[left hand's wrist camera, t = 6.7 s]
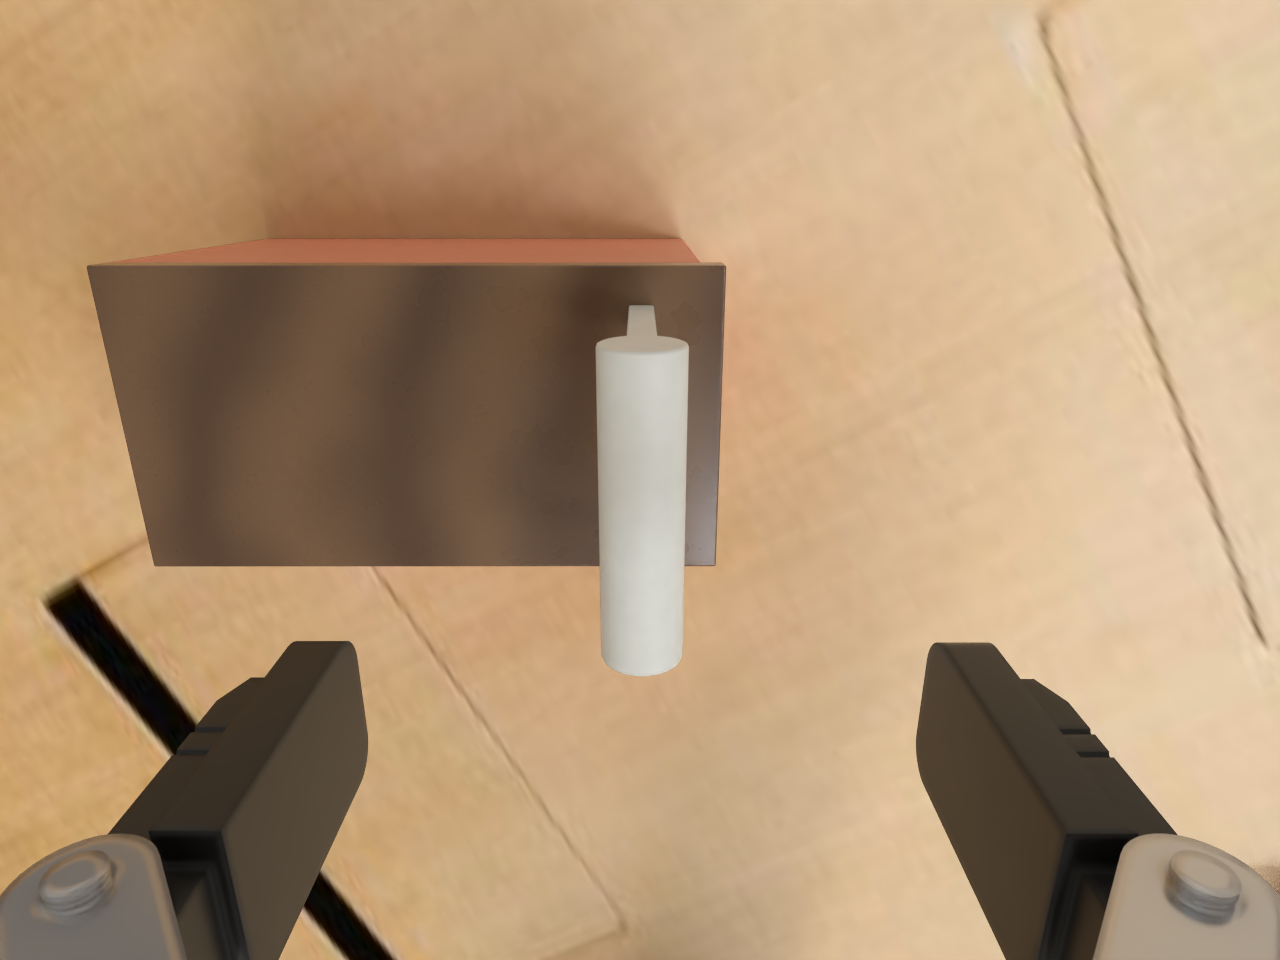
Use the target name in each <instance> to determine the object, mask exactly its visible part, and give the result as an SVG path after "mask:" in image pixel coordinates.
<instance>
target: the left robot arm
mask: <svg viewBox="0 0 1280 960" xmlns="http://www.w3.org/2000/svg"><path fill="white" fill-rule="evenodd" d="M367 753H368V733H367V725H366V718H365V711H364V704H363V696H362V689H361V682H360V675H359V667H358V660H357V654H356V651H355V648H354V646H353V644H352V643H351V642H349V641H295V642H293V643H291V644H290V645H289V646H288V647H287V649H286V650H285V651H284V653H283V654H282V655H281V657H280V658H279V659H278V661H277V662H276V663H275V665H274V666H273V667H272V669H271V670H270V671H269V673H268V674H267V675H266V676H265V678H250V679H248V680H247V681H245V682H244V683H242V684H241V685H239V686H238V687H236V688H235V689H233V690H232V691H230V692H229V693H227V694H226V695H225V696H223V697H222V698H220V699H219V700H217V701H216V702H215V704H214V705H213V706H212V707H211V709H210V710H209V711H208V712H207V713H206V715H205V716H204V717H203V718H202V720H201V721H200V722H199V723H198V724H197V726H196V727H195V732H194V733H190V734H189V735H188V737H187V738H186V739H185V740H184V742H183V743H182V744H181V745H180V747H179V748H178V749H177V754H176V755H172V756H171V758H170V759H169V760H168V761H167V762H166V764H165V765H164V766H163V767H162V769H161V770H160V771H159V772H158V773H157V775H156V776H155V777H154V778H153V780H152V781H151V782H150V783H149V784H148V786H147V787H146V788H145V789H144V791H143V792H142V793H141V794H140V795H139V797H138V798H137V799H136V800H135V802H134V803H133V804H132V805H131V806H130V808H129V809H128V810H127V811H126V813H125V814H124V815H123V816H122V817H121V819H120V820H119V821H118V822H117V824H116V825H115V826H114V827H113V828H112V830H111V831H110V832H109V833H108V835H101V836H97V837H92V838H88V839H85V840H82V841H79V842H76V843H73V844H71V845H68V846H66V847H64V848H62V849H59V850H57V851H55V852H54V853H52V854H50V855H48V856H46V857H44V858H43V859H41V860H40V861H38V862H37V863H35V864H33V865H32V866H31V867H29V868H28V869H27V870H25V871H24V872H23V873H22V874H20V875H19V876H18V877H17V878H16V879H15V880H14V881H13V882H12V883H11V884H10V885H9V886H8V887H7V888H6V889H5V891H4V892H3V893H2V894H1V896H0V960H278V959H279V957H280V955H281V953H282V951H283V949H284V947H285V944H286V942H287V940H288V938H289V936H290V934H291V932H292V929H293V927H294V925H295V923H296V921H297V919H298V917H299V914H300V912H301V910H302V908H303V906H304V904H305V901H306V899H307V897H308V895H309V893H310V891H311V889H312V886H313V884H314V882H315V880H316V878H317V876H318V874H319V871H320V869H321V867H322V865H323V863H324V861H325V859H326V856H327V854H328V852H329V850H330V848H331V846H332V843H333V841H334V839H335V837H336V835H337V833H338V831H339V828H340V826H341V824H342V822H343V820H344V818H345V816H346V813H347V811H348V809H349V807H350V805H351V803H352V801H353V798H354V796H355V794H356V792H357V790H358V788H359V785H360V783H361V781H362V778H363V775H364V771H365V767H366V762H367ZM916 753H917V762H918V768H919V772H920V776H921V779H922V782H923V784H924V787H925V789H926V791H927V793H928V795H929V797H930V799H931V802H932V804H933V806H934V808H935V810H936V812H937V814H938V816H939V818H940V821H941V823H942V825H943V827H944V829H945V831H946V833H947V835H948V838H949V840H950V842H951V844H952V846H953V848H954V850H955V852H956V855H957V857H958V859H959V861H960V863H961V865H962V867H963V869H964V872H965V874H966V876H967V878H968V880H969V882H970V884H971V886H972V889H973V891H974V893H975V895H976V897H977V899H978V901H979V903H980V905H981V908H982V910H983V912H984V914H985V916H986V918H987V920H988V922H989V925H990V927H991V929H992V931H993V933H994V935H995V937H996V939H997V942H998V944H999V946H1000V948H1001V950H1002V952H1003V954H1004V956H1005V959H1006V960H1280V896H1279V894H1278V893H1277V892H1276V891H1275V889H1274V888H1273V887H1272V886H1271V885H1270V884H1269V883H1268V882H1267V881H1266V880H1265V879H1264V878H1263V877H1262V876H1261V875H1260V874H1258V873H1257V872H1256V871H1255V870H1253V869H1252V868H1251V867H1249V866H1248V865H1247V864H1245V863H1243V862H1242V861H1240V860H1239V859H1237V858H1236V857H1234V856H1232V855H1230V854H1228V853H1226V852H1225V851H1223V850H1221V849H1218V848H1216V847H1214V846H1212V845H1209V844H1207V843H1204V842H1201V841H1198V840H1195V839H1192V838H1188V837H1183V836H1179V835H1177V834H1176V832H1175V831H1174V830H1173V829H1172V828H1171V826H1170V825H1169V824H1168V823H1167V821H1166V820H1165V819H1164V818H1163V817H1162V815H1161V814H1160V813H1159V812H1158V811H1157V809H1156V808H1155V807H1154V806H1153V804H1152V803H1151V802H1150V801H1149V800H1148V798H1147V797H1146V796H1145V795H1144V794H1143V792H1142V791H1141V790H1140V789H1139V788H1138V786H1137V785H1136V784H1135V783H1134V781H1133V780H1132V779H1131V778H1130V777H1129V775H1128V774H1127V773H1126V772H1125V771H1124V769H1123V768H1122V767H1121V766H1120V764H1119V763H1118V762H1117V761H1116V760H1115V758H1110V756H1109V751H1108V750H1107V749H1106V748H1105V746H1104V745H1103V744H1102V743H1101V741H1100V740H1099V739H1098V738H1097V737H1096V735H1091V733H1090V728H1089V727H1088V726H1087V724H1086V723H1085V722H1084V721H1083V720H1082V718H1081V717H1080V716H1079V715H1078V714H1077V712H1076V711H1075V710H1074V709H1073V707H1072V706H1071V705H1070V704H1069V703H1068V702H1067V701H1066V700H1064V699H1063V698H1061V697H1060V696H1058V695H1057V694H1055V693H1054V692H1052V691H1051V690H1049V689H1048V688H1046V687H1045V686H1043V685H1042V684H1040V683H1039V682H1037V681H1036V680H1034V679H1020V678H1019V677H1018V675H1017V674H1016V673H1015V671H1014V670H1013V669H1012V667H1011V666H1010V665H1009V664H1008V662H1007V661H1006V660H1005V658H1004V657H1003V656H1002V654H1001V653H1000V652H999V651H998V649H997V648H996V647H995V646H994V645H993V644H991V643H934V644H933V645H932V646H931V648H930V650H929V653H928V658H927V664H926V671H925V678H924V685H923V693H922V700H921V707H920V714H919V721H918V728H917V736H916Z"/></svg>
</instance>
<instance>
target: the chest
mask: <svg viewBox="0 0 1280 960" xmlns="http://www.w3.org/2000/svg"><path fill="white" fill-rule="evenodd" d="M111 263H700V262H699V260H698V259H697V258H696V256H695V255H694V254H693V252H692V251H691V250H690V249H689V247H688V246H687V245H686V243H685V242H684V241H683V240H682V239H263V240H256V241H249V242H242V243H236V244H229V245H222V246H216V247H209V248H202V249H196V250H189V251H182V252H176V253H169V254H162V255H156V256H149V257H142V258H136V259H129V260H122V261H116V262H111Z"/></svg>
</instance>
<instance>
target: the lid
mask: <svg viewBox="0 0 1280 960" xmlns="http://www.w3.org/2000/svg"><path fill="white" fill-rule="evenodd" d="M87 270H88V275H89V279H90V283H91V288H92V292H93V297H94V301H95V306H96V310H97V314H98V319H99V323H100V328H101V332H102V336H103V341H104V345H105V350H106V354H107V358H108V363H109V367H110V372H111V376H112V381H113V385H114V389H115V394H116V398H117V403H118V407H119V411H120V416H121V420H122V425H123V429H124V433H125V438H126V442H127V447H128V451H129V456H130V460H131V464H132V469H133V473H134V478H135V482H136V486H137V491H138V495H139V500H140V504H141V509H142V513H143V517H144V522H145V526H146V531H147V535H148V539H149V544H150V548H151V553H152V557H153V561H154V565H155V566H600V610H601V655H602V658H603V660H604V662H605V663H606V664H607V665H608V666H609V667H610V668H612V669H613V670H615V671H617V672H620V673H623V674H627V675H632V676H652V675H657V674H661V673H664V672H667V671H669V670H671V669H672V668H674V667H675V666H676V665H677V664H678V663H679V661H680V659H681V658H682V652H683V605H684V566H715V565H716V538H717V510H718V482H719V454H720V425H721V397H722V369H723V340H724V312H725V284H726V266H725V265H724V264H723V263H102V264H95V265H89V266H87Z"/></svg>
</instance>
